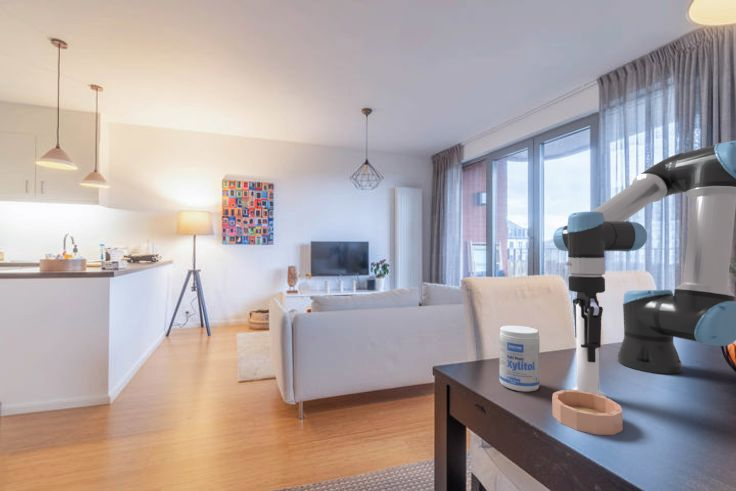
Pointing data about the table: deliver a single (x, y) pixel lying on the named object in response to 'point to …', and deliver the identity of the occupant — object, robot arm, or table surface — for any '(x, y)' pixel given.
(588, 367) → the candle
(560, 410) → the jar dish
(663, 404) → the table surface
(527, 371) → the supplement tub
